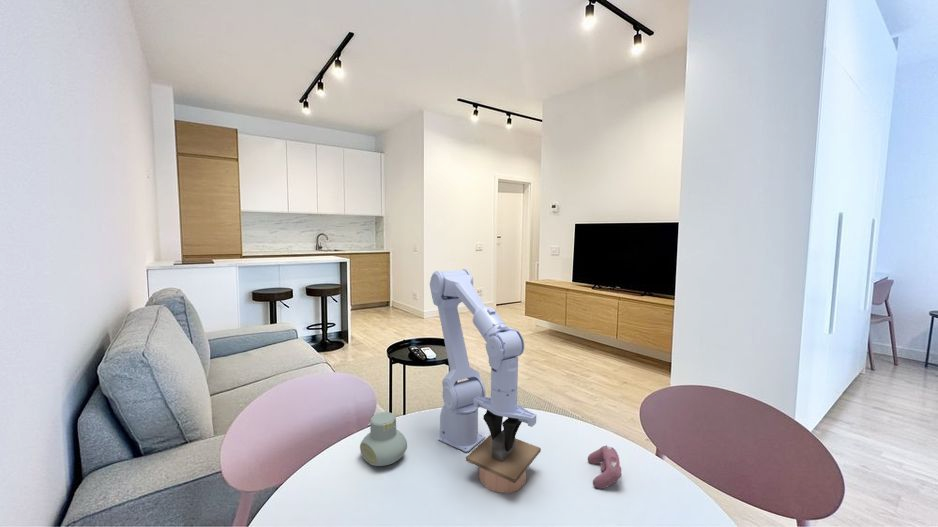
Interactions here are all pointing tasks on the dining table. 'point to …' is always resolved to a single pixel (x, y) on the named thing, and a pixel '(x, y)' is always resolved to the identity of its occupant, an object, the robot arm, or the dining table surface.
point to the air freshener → (383, 441)
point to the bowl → (500, 482)
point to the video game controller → (606, 466)
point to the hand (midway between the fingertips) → (503, 446)
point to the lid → (503, 457)
